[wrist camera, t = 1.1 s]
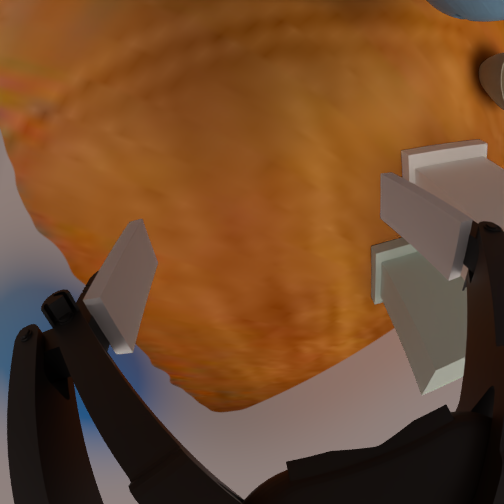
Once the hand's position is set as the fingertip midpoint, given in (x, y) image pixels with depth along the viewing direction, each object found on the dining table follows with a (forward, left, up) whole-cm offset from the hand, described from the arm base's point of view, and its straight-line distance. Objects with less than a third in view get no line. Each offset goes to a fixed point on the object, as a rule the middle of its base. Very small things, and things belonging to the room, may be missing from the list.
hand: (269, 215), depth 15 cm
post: (+23, +26, -20) cm, 40 cm away
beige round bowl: (-10, +37, -21) cm, 43 cm away
